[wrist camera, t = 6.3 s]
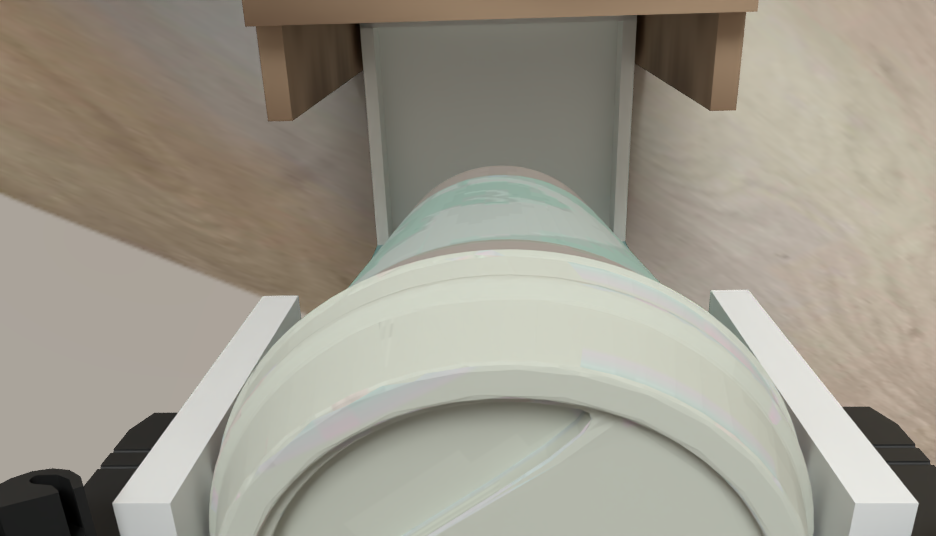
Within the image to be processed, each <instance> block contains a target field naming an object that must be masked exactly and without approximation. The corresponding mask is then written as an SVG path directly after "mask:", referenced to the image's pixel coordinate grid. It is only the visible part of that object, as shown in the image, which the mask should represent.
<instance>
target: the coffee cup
mask: <svg viewBox="0 0 936 536" xmlns="http://www.w3.org/2000/svg"><path fill="white" fill-rule="evenodd" d="M209 532H210V536H813V533H814V505H813V497H812V488H811V483H810V479H809V475H808V470H807V466H806V463H805V460H804V457H803V454H802V451H801V448H800V446H799V443H798V439H797V435H796V432H795V429H794V426H793V423H792V420H791V417H790V415H789V412H788V410H787V408H786V405H785V403H784V401H783V399H782V397H781V395H780V393H779V392H778V390H777V388H776V386H775V385H774V383H773V381H772V380H771V378H770V377H769V375H768V374H767V372H766V371H765V369H764V368H763V367H762V365H761V364H760V363H759V361H758V360H757V359H756V357H755V356H754V355H753V354H752V353H751V351H750V350H749V349H748V348H747V347H746V346H745V345H744V344H743V343H742V342H741V341H740V340H739V339H738V338H737V337H736V336H735V335H734V334H733V333H732V332H731V331H730V330H729V329H728V328H727V327H726V326H724V325H723V324H722V323H721V322H720V321H719V320H717V319H716V318H715V317H714V316H712V315H711V314H710V313H708V312H707V311H706V310H704V309H703V308H701V307H700V306H698V305H697V304H695V303H694V302H692V301H691V300H689V299H688V298H686V297H684V296H683V295H681V294H679V293H677V292H676V291H674V290H672V289H670V288H668V287H666V286H664V285H662V284H660V282H659V281H658V280H657V279H656V278H655V277H654V276H653V275H652V274H651V273H650V272H649V271H648V269H647V268H646V267H645V266H644V265H643V264H642V263H641V262H640V261H639V260H638V259H637V258H636V257H635V255H634V254H633V253H632V252H631V251H630V250H629V249H628V248H627V247H626V246H625V245H624V244H623V242H622V241H621V240H620V239H619V238H618V237H617V236H616V235H615V234H614V233H613V232H612V231H611V229H610V228H609V227H608V226H607V225H606V224H605V223H604V222H603V221H602V220H601V219H600V218H599V217H598V215H597V214H596V213H595V212H594V211H593V210H592V209H591V208H590V207H589V206H588V205H587V204H586V203H585V202H584V201H583V200H582V199H581V198H580V197H579V196H578V195H577V194H576V193H575V192H574V191H572V190H571V189H570V188H569V187H567V186H566V185H565V184H563V183H561V182H560V181H558V180H556V179H555V178H553V177H551V176H548V175H546V174H544V173H541V172H538V171H536V170H532V169H528V168H523V167H517V166H504V165H500V166H486V167H481V168H476V169H472V170H469V171H466V172H463V173H460V174H458V175H455V176H453V177H451V178H449V179H447V180H446V181H444V182H442V183H441V184H439V185H438V186H436V187H435V188H434V189H432V190H431V191H430V192H429V193H428V194H427V195H426V196H425V197H424V198H423V199H422V200H421V201H420V202H419V203H418V204H417V205H416V207H415V208H414V209H413V210H412V211H411V212H410V214H409V215H408V216H407V217H406V218H405V219H404V220H403V222H402V223H401V224H400V225H399V226H398V228H397V229H396V230H395V231H394V232H393V234H392V235H391V236H390V237H389V239H388V240H387V241H386V242H385V243H384V245H383V246H382V247H381V248H380V249H379V251H378V252H377V253H376V254H375V256H374V257H373V258H372V259H371V260H370V262H369V263H368V264H367V265H366V266H365V268H364V269H363V270H362V271H361V273H360V274H359V275H358V276H357V277H356V279H355V280H354V281H353V282H352V283H351V285H350V286H349V287H348V288H347V289H346V290H344V291H342V292H340V293H338V294H337V295H335V296H333V297H332V298H330V299H329V300H327V301H325V302H324V303H322V304H321V305H319V306H318V307H317V308H315V309H314V310H312V311H311V312H310V313H308V314H307V315H306V316H305V317H303V318H302V319H301V320H300V321H298V322H297V323H296V324H295V325H294V326H293V327H291V328H290V329H289V330H288V331H287V332H286V333H285V334H284V335H283V336H282V337H281V338H280V339H279V340H278V341H277V342H276V343H275V344H274V345H273V346H272V348H271V349H270V350H269V351H268V352H267V353H266V355H265V356H264V357H263V358H262V360H261V361H260V362H259V364H258V365H257V366H256V368H255V369H254V371H253V372H252V374H251V375H250V377H249V378H248V380H247V381H246V383H245V385H244V387H243V388H242V390H241V392H240V394H239V396H238V398H237V400H236V402H235V404H234V406H233V409H232V411H231V414H230V416H229V419H228V422H227V425H226V428H225V431H224V435H223V439H222V443H221V448H220V453H219V456H218V459H217V462H216V465H215V470H214V475H213V480H212V485H211V492H210V504H209Z"/></svg>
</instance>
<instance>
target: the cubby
mask: <svg viewBox="0 0 936 536" xmlns="http://www.w3.org/2000/svg"><path fill="white" fill-rule="evenodd" d="M242 5H243V13H244V20H245V27H247V26H256V31H257V39H258V47H259V54H260V62H261V70H262V78H263V85H264V93H265V101H266V108H267V116H268V121H293V120H294V119H296V118H297V117H298V116H300V115H301V114H303V113H304V112H305V111H307V110H308V109H310V108H311V107H312V106H314V105H315V104H317V103H318V102H319V101H321V100H322V99H324V98H325V97H326V96H328V95H329V94H330V93H332V92H333V91H335V90H336V89H337V88H339V87H340V86H342V85H343V84H344V83H346V82H347V81H349V80H350V79H351V78H353V77H354V76H356V75H357V74H358V73H360V72H361V71H363V59H362V46H361V34H360V23H382V22H416V21H450V20H484V19H518V18H551V17H585V16H619V15H637V24H636V44H635V63H636V64H637V65H639V66H640V67H642V68H644V69H645V70H647V71H648V72H650V73H652V74H653V75H655V76H656V77H658V78H659V79H661V80H663V81H664V82H666V83H667V84H669V85H670V86H672V87H674V88H675V89H677V90H678V91H680V92H681V93H683V94H685V95H686V96H688V97H689V98H691V99H692V100H694V101H696V102H697V103H699V104H700V105H702V106H703V107H705V108H707V109H708V110H710V111H724V110H736V104H737V95H738V85H739V75H740V66H741V56H742V47H743V37H744V27H745V18H746V12H754V11H757V9H758V0H242Z"/></svg>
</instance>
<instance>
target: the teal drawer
mask: <svg viewBox="0 0 936 536" xmlns="http://www.w3.org/2000/svg"><path fill="white" fill-rule="evenodd" d="M636 24H637V15H619V16H585V17H551V18H518V19H484V20H450V21H416V22H382V23H360V34H361V46H362V59H363V71H364V84H365V96H366V108H367V121H368V133H369V146H370V158H371V171H372V183H373V196H374V208H375V221H376V233H377V248H376V250H375V252H374V254H373V257H374V256H375V254H376V253H377V252H378V251H379V249H380V248H381V247H382V246H383V245H384V243H385V242H386V241H387V240H388V239H389V237H390V236H391V235H392V234H393V232H394V231H395V230H396V229H397V228H398V226H399V225H400V224H401V223H402V222H403V220H404V219H405V218H406V217H407V216H408V215H409V214H410V212H411V211H412V210H413V209H414V208H415V207H416V205H417V204H418V203H419V202H420V201H421V200H422V199H423V198H424V197H425V196H426V195H427V194H428V193H429V192H430V191H431V190H432V189H434V188H435V187H436V186H438V185H439V184H441V183H442V182H444V181H446V180H447V179H449V178H451V177H453V176H455V175H458V174H460V173H463V172H466V171H469V170H472V169H476V168H481V167H486V166H500V165H504V166H517V167H523V168H528V169H532V170H536V171H538V172H541V173H544V174H546V175H548V176H551V177H553V178H555V179H556V180H558V181H560V182H561V183H563V184H565V185H566V186H567V187H569V188H570V189H571V190H572V191H574V192H575V193H576V194H577V195H578V196H579V197H580V198H581V199H582V200H583V201H584V202H585V203H586V204H587V205H588V206H589V207H590V208H591V209H592V210H593V211H594V212H595V213H596V214H597V215H598V217H599V218H600V219H601V220H602V221H603V222H604V223H605V224H606V225H607V226H608V227H609V228H610V229H611V231H612V232H613V233H614V234H615V235H616V236H617V237H618V238H619V239H620V240H621V241H622V242H623V244H624V245H625V246H626V247H627V248H628V246H627V244H626V242H625V235H626V216H627V197H628V178H629V159H630V139H631V120H632V101H633V82H634V63H635V44H636ZM628 249H629V248H628ZM373 257H372V258H373Z"/></svg>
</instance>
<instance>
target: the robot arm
mask: <svg viewBox="0 0 936 536" xmlns="http://www.w3.org/2000/svg"><path fill="white" fill-rule="evenodd" d="M709 313H710V314H711V315H712V316H714V317H715V318H716V319H717V320H719V321H720V322H721V323H722V324H723V325H724V326H726V327H727V328H728V329H729V330H730V331H731V332H732V333H733V334H734V335H735V336H736V337H737V338H738V339H739V340H740V341H741V342H742V343H743V344H744V345H745V346H746V347H747V348H748V349H749V350H750V351H751V353H752V354H753V355H754V356H755V357H756V359H757V360H758V361H759V363H760V364H761V365H762V367H763V368H764V369H765V371H766V372H767V374H768V375H769V377H770V378H771V380H772V381H773V383H774V385H775V386H776V388H777V390H778V392H779V393H780V395H781V397H782V399H783V401H784V403H785V405H786V408H787V410H788V412H789V415H790V417H791V420H792V423H793V426H794V429H795V432H796V435H797V439H798V443H799V446H800V448H801V451H802V454H803V457H804V460H805V463H806V466H807V470H808V475H809V479H810V483H811V488H812V497H813V505H814V533H813V536H936V467H935V466H934V465H930V460H929V459H928V458H927V457H926V456H925V455H924V453H923V452H922V451H921V450H920V449H919V448H916V447H915V443H914V442H913V441H912V440H911V439H910V438H909V437H908V436H907V434H906V433H905V432H904V431H903V430H902V429H901V428H900V427H899V425H898V424H896V423H895V422H893V421H891V420H890V419H888V418H887V417H885V416H883V415H882V414H880V413H879V412H877V411H875V410H874V409H872V408H870V407H841V405H840V404H839V403H838V402H837V400H836V399H835V398H834V397H833V395H832V394H831V393H830V392H829V390H828V389H827V388H826V387H825V385H824V384H823V383H822V382H821V380H820V379H819V378H818V377H817V375H816V374H815V373H814V372H813V370H812V369H811V368H810V367H809V365H808V364H807V363H806V362H805V360H804V359H803V358H802V357H801V355H800V354H799V353H798V352H797V350H796V349H795V348H794V347H793V345H792V344H791V343H790V342H789V340H788V339H787V338H786V337H785V335H784V334H783V333H782V332H781V330H780V329H779V328H778V327H777V325H776V324H775V323H774V322H773V320H772V319H771V318H770V317H769V315H768V314H767V313H766V312H765V310H764V309H763V308H762V307H761V305H760V304H759V303H758V301H757V300H756V299H755V298H754V296H753V295H752V294H751V293H750V291H749V290H711V293H710V303H709ZM300 320H301V313H300V305H299V297H298V296H263V297H262V298H261V299H260V301H259V302H258V303H257V305H256V306H255V308H254V309H253V310H252V312H251V313H250V314H249V316H248V317H247V319H246V320H245V321H244V323H243V324H242V326H241V327H240V328H239V330H238V331H237V332H236V334H235V335H234V336H233V338H232V339H231V341H230V342H229V343H228V345H227V346H226V347H225V349H224V350H223V352H222V353H221V354H220V356H219V357H218V359H217V360H216V361H215V363H214V364H213V366H212V367H211V368H210V370H209V371H208V372H207V374H206V375H205V377H204V378H203V379H202V381H201V382H200V383H199V385H198V386H197V387H196V389H195V390H194V392H193V393H192V394H191V396H190V397H189V398H188V400H187V401H186V403H185V404H184V405H183V407H182V408H181V409H180V411H179V412H178V413H154V414H152V415H151V416H149V417H148V418H146V419H145V420H143V421H142V422H140V423H139V424H137V425H136V426H134V427H133V428H131V429H130V430H129V431H128V432H127V433H126V435H125V436H124V437H123V439H122V440H121V441H120V442H119V443H118V445H117V446H116V447H115V448H114V453H110V455H109V456H108V457H107V458H106V459H105V461H104V462H103V463H102V465H101V469H97V471H96V472H95V473H94V474H93V476H92V477H91V478H90V479H89V481H88V482H87V483H86V484H85V486H84V487H83V484H82V480H81V477H80V476H79V475H77V474H75V473H74V472H71V471H70V470H63V469H46V470H38V471H32V472H29V473H26V474H23V475H20V476H17V477H14V478H11V479H9V480H7V481H5V482H3V483H1V484H0V536H210V532H209V504H210V492H211V485H212V480H213V475H214V470H215V465H216V462H217V459H218V456H219V453H220V448H221V443H222V439H223V435H224V431H225V428H226V425H227V422H228V419H229V416H230V414H231V411H232V409H233V406H234V404H235V402H236V400H237V398H238V396H239V394H240V392H241V390H242V388H243V387H244V385H245V383H246V381H247V380H248V378H249V377H250V375H251V374H252V372H253V371H254V369H255V368H256V366H257V365H258V364H259V362H260V361H261V360H262V358H263V357H264V356H265V355H266V353H267V352H268V351H269V350H270V349H271V348H272V346H273V345H274V344H275V343H276V342H277V341H278V340H279V339H280V338H281V337H282V336H283V335H284V334H285V333H286V332H287V331H288V330H289V329H290V328H291V327H293V326H294V325H295V324H296V323H297V322H298V321H300Z"/></svg>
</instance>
